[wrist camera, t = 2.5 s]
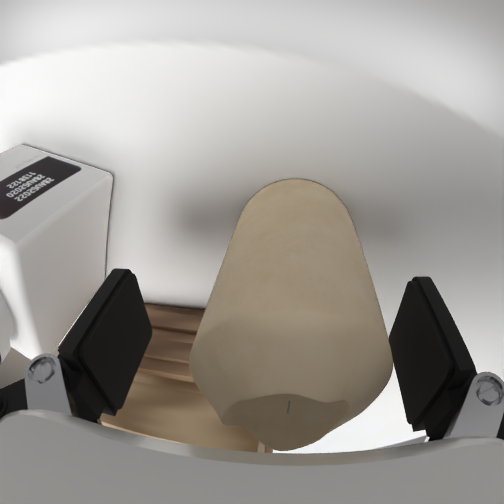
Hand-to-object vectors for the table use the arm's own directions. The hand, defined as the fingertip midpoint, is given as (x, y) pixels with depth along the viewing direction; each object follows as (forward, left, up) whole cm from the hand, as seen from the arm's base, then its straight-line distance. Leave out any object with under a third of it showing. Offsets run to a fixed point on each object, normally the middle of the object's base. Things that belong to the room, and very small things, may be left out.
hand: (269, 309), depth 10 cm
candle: (-1, 0, -6) cm, 6 cm away
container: (+13, -1, -6) cm, 14 cm away
